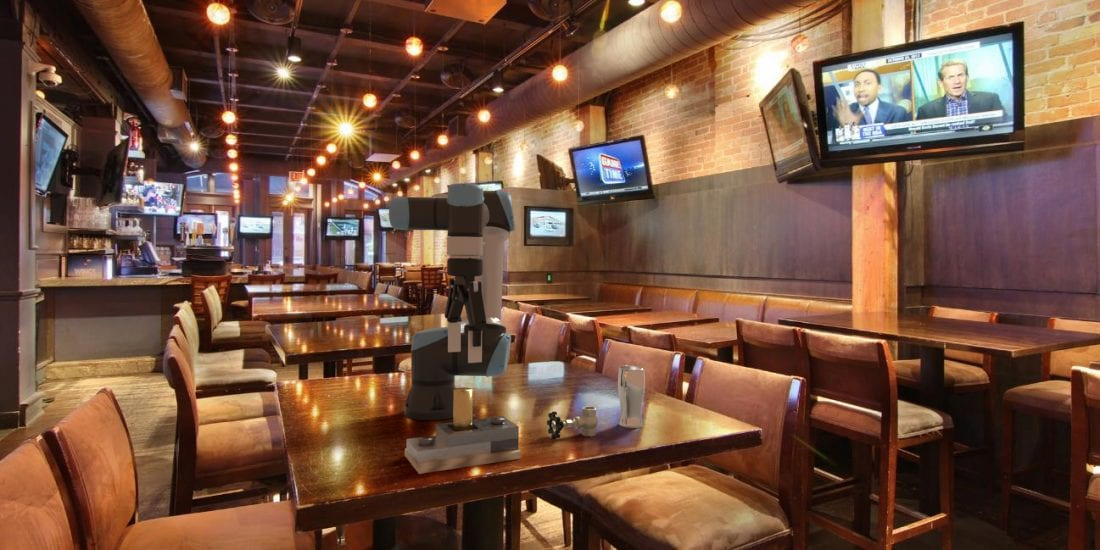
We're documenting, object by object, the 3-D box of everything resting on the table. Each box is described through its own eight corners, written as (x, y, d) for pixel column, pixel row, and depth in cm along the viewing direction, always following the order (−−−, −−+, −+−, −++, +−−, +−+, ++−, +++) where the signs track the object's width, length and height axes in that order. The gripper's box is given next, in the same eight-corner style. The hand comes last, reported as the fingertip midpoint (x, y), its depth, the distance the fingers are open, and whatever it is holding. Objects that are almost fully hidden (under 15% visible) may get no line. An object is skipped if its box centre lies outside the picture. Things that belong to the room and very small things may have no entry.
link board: (419, 473, 117) (419, 466, 117) (404, 455, 128) (404, 448, 128) (521, 458, 127) (521, 451, 127) (499, 442, 138) (499, 436, 138)
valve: (589, 430, 149) (546, 435, 144) (590, 404, 149) (546, 408, 144) (602, 437, 143) (558, 443, 138) (603, 410, 143) (558, 415, 138)
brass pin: (449, 451, 127) (450, 390, 126) (459, 445, 130) (460, 386, 130) (465, 453, 125) (466, 392, 125) (475, 448, 129) (475, 388, 128)
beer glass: (643, 429, 150) (644, 370, 149) (615, 427, 151) (616, 369, 151) (644, 422, 157) (645, 365, 156) (618, 420, 158) (619, 364, 158)
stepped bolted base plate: (417, 463, 118) (417, 434, 118) (406, 450, 126) (406, 422, 126) (518, 449, 128) (518, 421, 128) (502, 437, 136) (502, 411, 136)
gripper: (504, 258, 117) (502, 365, 118) (463, 256, 139) (462, 346, 140) (467, 258, 113) (466, 368, 114) (431, 256, 136) (430, 348, 136)
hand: (464, 356), depth 127 cm, fingers open, 13 cm apart
